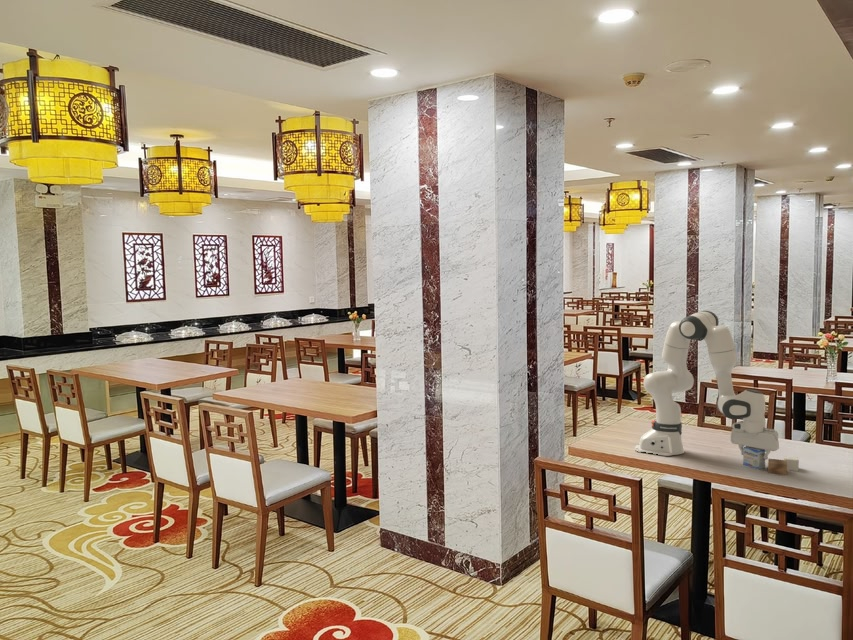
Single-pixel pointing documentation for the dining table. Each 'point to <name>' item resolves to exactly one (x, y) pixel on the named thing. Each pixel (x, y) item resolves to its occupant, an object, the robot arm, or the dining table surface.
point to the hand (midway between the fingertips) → (754, 457)
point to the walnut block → (777, 466)
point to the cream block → (792, 463)
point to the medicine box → (753, 457)
